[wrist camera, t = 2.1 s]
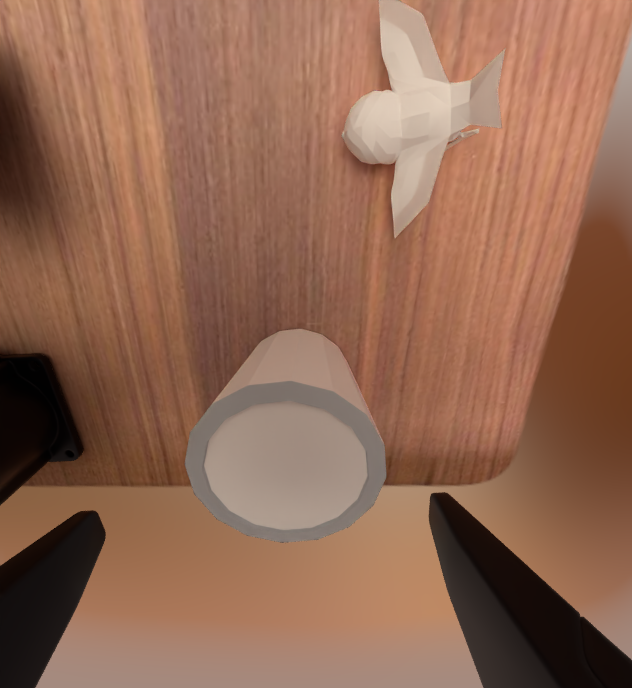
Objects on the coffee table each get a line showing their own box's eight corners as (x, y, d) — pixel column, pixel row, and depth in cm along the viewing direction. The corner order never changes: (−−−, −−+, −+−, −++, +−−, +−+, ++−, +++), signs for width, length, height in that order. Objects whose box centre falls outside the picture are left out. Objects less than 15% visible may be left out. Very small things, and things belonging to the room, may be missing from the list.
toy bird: (315, 13, 12) (388, -115, 7) (424, 15, 13) (539, -93, 9) (343, 245, 14) (407, 248, 10) (430, 228, 16) (519, 224, 12)
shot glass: (369, 321, 16) (404, 390, 10) (353, 435, 19) (373, 551, 12) (232, 311, 16) (175, 374, 10) (234, 428, 19) (189, 540, 12)
